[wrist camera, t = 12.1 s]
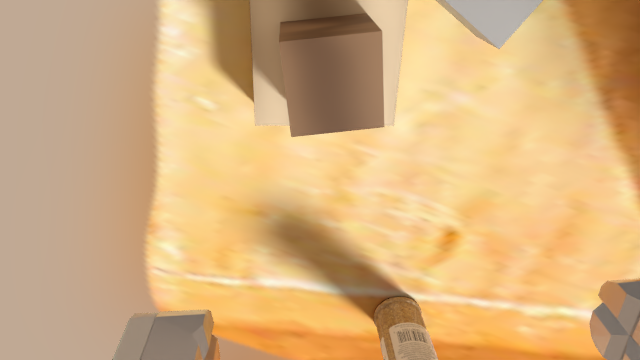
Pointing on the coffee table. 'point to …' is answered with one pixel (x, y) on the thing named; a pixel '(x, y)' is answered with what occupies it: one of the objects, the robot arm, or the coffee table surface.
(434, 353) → the sprinkles bottle
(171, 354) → the robot arm
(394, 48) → the oak block
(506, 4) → the grey block
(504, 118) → the coffee table surface
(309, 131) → the walnut cube
